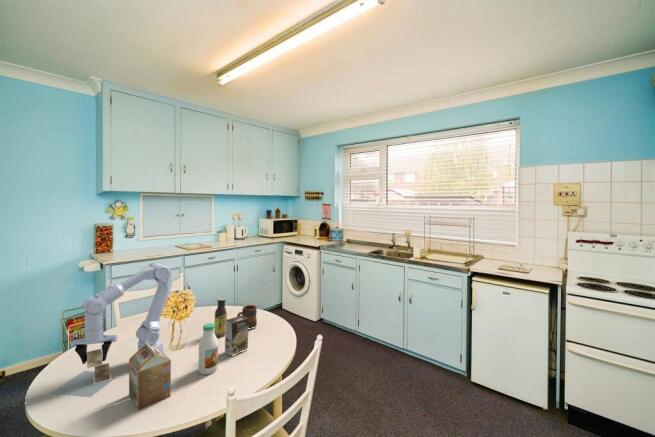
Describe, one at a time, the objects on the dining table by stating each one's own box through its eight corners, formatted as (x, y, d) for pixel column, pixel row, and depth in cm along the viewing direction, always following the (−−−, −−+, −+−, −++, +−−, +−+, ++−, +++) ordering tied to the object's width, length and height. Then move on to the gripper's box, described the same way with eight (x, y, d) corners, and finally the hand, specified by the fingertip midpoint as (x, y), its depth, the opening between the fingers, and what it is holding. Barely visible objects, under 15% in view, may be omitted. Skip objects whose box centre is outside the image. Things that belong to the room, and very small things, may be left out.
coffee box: (231, 357, 138) (232, 323, 137) (224, 352, 142) (225, 319, 141) (248, 349, 145) (249, 318, 144) (240, 345, 149) (241, 314, 148)
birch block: (101, 359, 118) (101, 348, 118) (102, 364, 115) (102, 353, 115) (86, 363, 115) (86, 352, 115) (87, 368, 112) (87, 356, 112)
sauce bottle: (218, 338, 155) (219, 302, 153) (211, 335, 158) (211, 299, 157) (228, 334, 160) (229, 298, 159) (221, 331, 163) (222, 296, 162)
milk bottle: (197, 376, 122) (197, 329, 121) (199, 366, 129) (200, 321, 128) (216, 374, 124) (217, 328, 123) (218, 364, 131) (219, 320, 130)
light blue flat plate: (121, 374, 121) (121, 373, 121) (90, 398, 106) (90, 396, 106) (85, 371, 122) (85, 370, 122) (49, 394, 107) (49, 393, 107)
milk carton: (170, 396, 109) (170, 347, 108) (137, 410, 101) (138, 357, 100) (160, 383, 116) (160, 337, 115) (129, 396, 108) (129, 346, 107)
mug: (233, 328, 168) (233, 308, 167) (251, 322, 176) (252, 303, 176) (240, 333, 162) (240, 312, 161) (259, 327, 170) (260, 307, 170)
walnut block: (108, 373, 120) (108, 362, 120) (109, 378, 117) (109, 367, 117) (94, 377, 117) (94, 366, 117) (95, 383, 114) (95, 371, 114)
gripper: (119, 321, 121) (119, 353, 122) (75, 325, 115) (76, 359, 116) (114, 328, 114) (114, 362, 115) (67, 333, 109) (68, 368, 110)
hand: (94, 361), depth 115 cm, fingers closed on birch block, 6 cm apart
